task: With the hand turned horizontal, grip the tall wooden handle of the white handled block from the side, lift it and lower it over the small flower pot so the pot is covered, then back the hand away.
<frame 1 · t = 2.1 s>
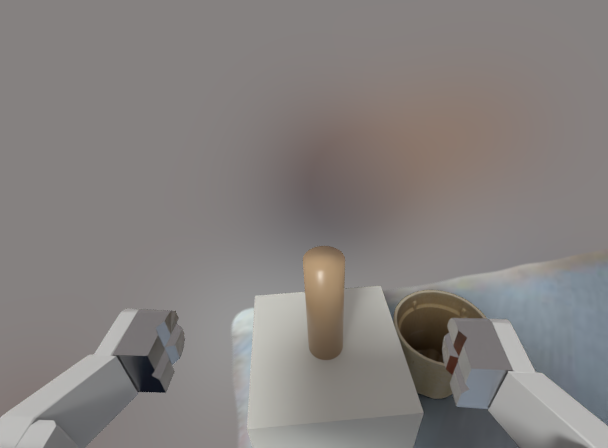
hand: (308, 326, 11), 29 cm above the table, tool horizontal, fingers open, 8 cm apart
white handled block: (326, 408, 38), on the table
flower pot: (428, 373, 40), on the table
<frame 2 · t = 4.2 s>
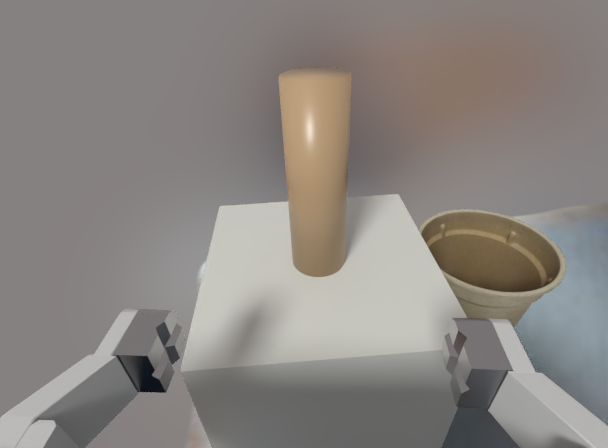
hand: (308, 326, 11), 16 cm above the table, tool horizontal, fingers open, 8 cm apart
white handled block: (320, 369, 27), on the table
flower pot: (459, 327, 30), on the table
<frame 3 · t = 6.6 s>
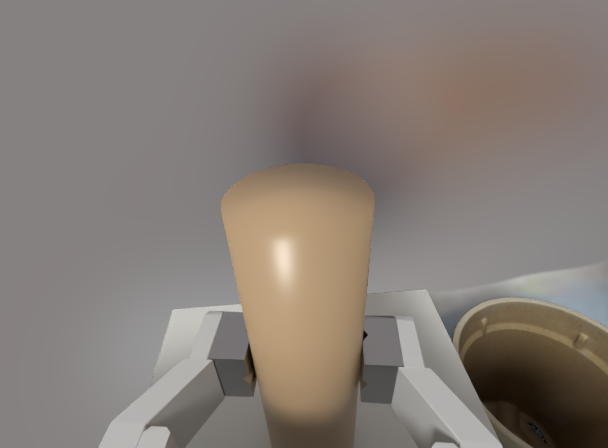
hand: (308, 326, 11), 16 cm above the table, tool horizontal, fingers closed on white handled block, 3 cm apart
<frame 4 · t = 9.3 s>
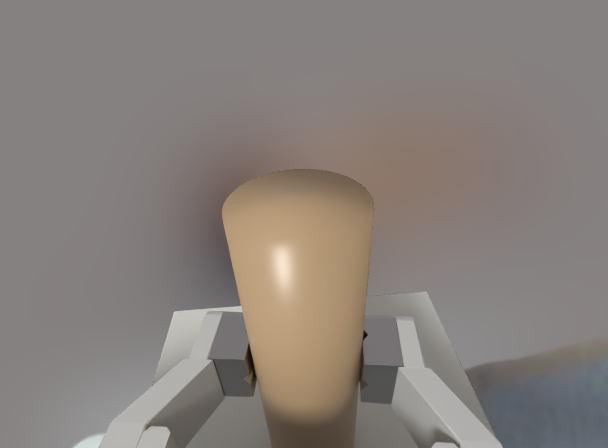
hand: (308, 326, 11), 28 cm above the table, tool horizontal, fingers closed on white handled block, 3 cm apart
when the fingers open (17 cm above the table, at t = 12.1 s): white handled block drops 1 cm, on the table.
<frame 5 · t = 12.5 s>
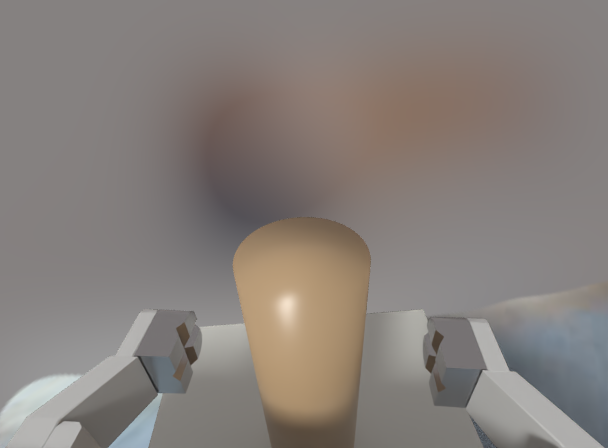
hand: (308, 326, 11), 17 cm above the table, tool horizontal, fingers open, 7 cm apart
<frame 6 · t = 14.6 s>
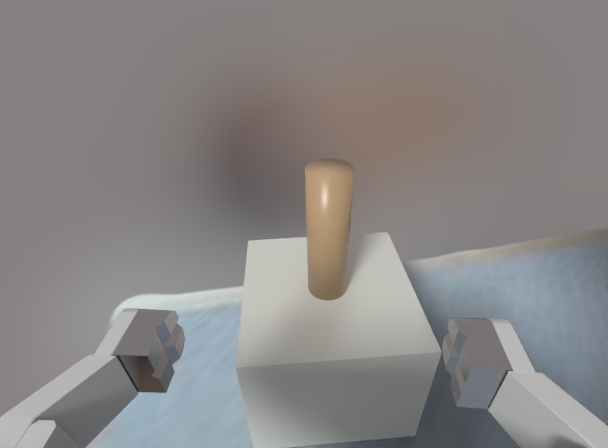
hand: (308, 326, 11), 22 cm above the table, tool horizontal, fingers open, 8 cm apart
white handled block: (325, 370, 34), on the table
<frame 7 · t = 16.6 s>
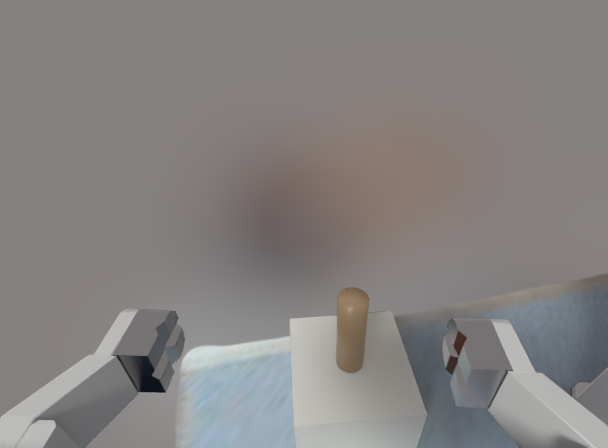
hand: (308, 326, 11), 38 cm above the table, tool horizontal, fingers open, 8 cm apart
white handled block: (347, 410, 46), on the table
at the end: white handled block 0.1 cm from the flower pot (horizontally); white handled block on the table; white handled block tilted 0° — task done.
